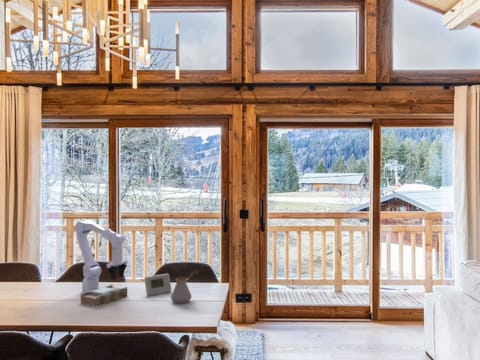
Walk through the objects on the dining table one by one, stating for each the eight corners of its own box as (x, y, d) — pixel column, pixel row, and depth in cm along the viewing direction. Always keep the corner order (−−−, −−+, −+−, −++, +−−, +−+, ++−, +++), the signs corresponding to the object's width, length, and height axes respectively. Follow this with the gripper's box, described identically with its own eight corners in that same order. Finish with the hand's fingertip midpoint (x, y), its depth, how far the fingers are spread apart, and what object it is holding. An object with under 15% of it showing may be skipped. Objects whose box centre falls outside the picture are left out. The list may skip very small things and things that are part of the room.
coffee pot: (183, 306, 210) (183, 278, 210) (166, 303, 215) (166, 276, 215) (204, 296, 229) (204, 270, 229) (188, 293, 234) (188, 268, 234)
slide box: (111, 293, 235) (111, 284, 235) (127, 296, 229) (127, 287, 229) (80, 303, 215) (80, 293, 215) (97, 306, 209) (97, 296, 209)
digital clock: (146, 296, 228) (146, 278, 228) (143, 292, 236) (143, 275, 236) (173, 293, 235) (173, 275, 235) (169, 289, 243) (169, 272, 243)
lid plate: (105, 289, 228) (105, 287, 228) (116, 291, 224) (116, 289, 224) (91, 293, 219) (91, 291, 219) (103, 296, 215) (103, 293, 215)
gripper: (112, 257, 222) (112, 281, 222) (131, 253, 235) (131, 276, 235) (104, 256, 226) (104, 279, 225) (122, 252, 238) (122, 274, 238)
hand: (117, 277), depth 230 cm, fingers open, 6 cm apart
